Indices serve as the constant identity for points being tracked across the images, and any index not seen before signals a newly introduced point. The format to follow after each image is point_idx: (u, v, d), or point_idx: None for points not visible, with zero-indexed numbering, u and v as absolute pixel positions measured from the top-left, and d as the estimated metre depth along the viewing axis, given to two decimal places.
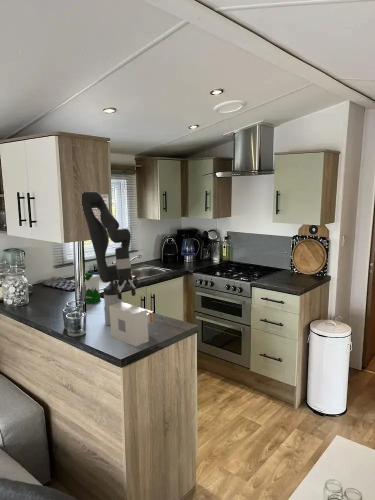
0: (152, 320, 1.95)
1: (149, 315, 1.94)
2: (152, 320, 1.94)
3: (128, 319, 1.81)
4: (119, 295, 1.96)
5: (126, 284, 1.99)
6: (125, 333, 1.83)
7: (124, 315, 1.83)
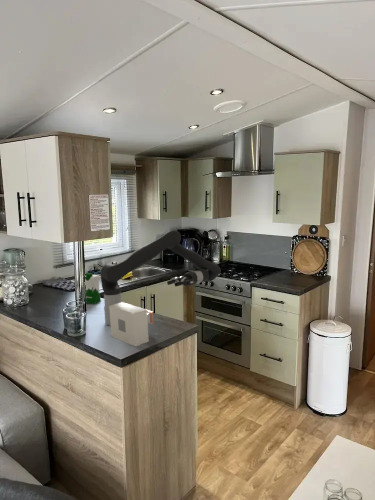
0: (152, 320, 1.95)
1: (149, 315, 1.94)
2: (152, 320, 1.94)
3: (128, 319, 1.81)
4: (179, 285, 2.05)
5: None
6: (125, 333, 1.83)
7: (124, 315, 1.83)
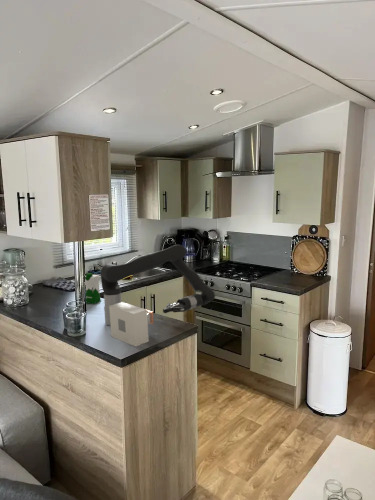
0: (152, 320, 1.95)
1: (149, 315, 1.94)
2: (152, 320, 1.94)
3: (128, 319, 1.81)
4: (168, 311, 2.05)
5: None
6: (125, 333, 1.83)
7: (124, 315, 1.83)
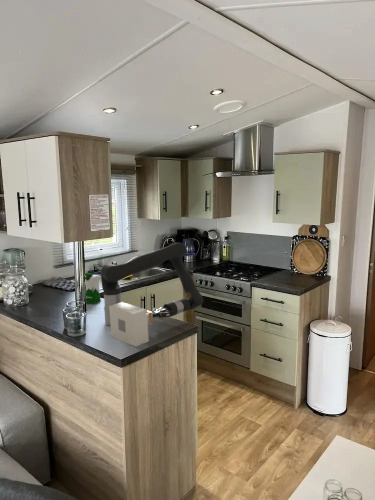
0: (151, 320, 1.94)
1: (148, 315, 1.93)
2: (151, 320, 1.94)
3: (128, 319, 1.81)
4: (153, 317, 1.98)
5: None
6: (125, 333, 1.83)
7: (124, 315, 1.83)
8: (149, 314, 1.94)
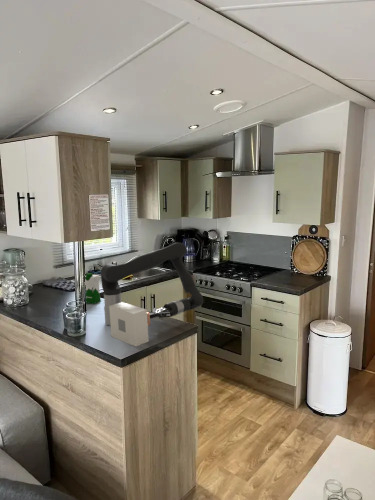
0: (149, 321, 1.93)
1: None
2: (148, 321, 1.93)
3: (128, 319, 1.81)
4: (153, 317, 1.98)
5: None
6: (125, 333, 1.83)
7: (124, 315, 1.83)
8: None
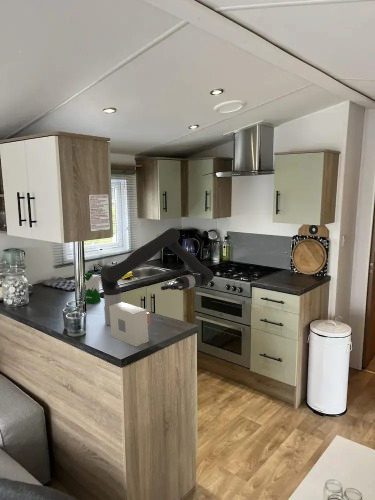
0: (149, 321, 1.93)
1: None
2: (148, 321, 1.93)
3: (128, 319, 1.81)
4: (166, 289, 2.02)
5: None
6: (125, 333, 1.83)
7: (124, 315, 1.83)
8: None
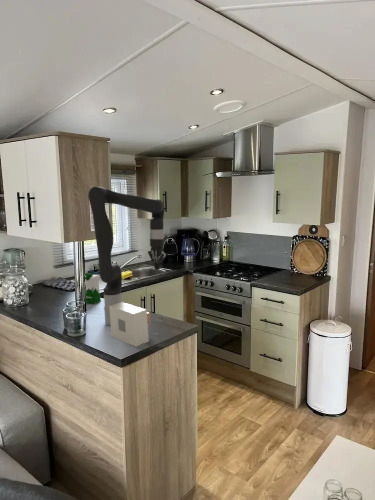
0: (149, 321, 1.93)
1: None
2: (148, 321, 1.93)
3: (128, 319, 1.81)
4: None
5: None
6: (125, 333, 1.83)
7: (124, 315, 1.83)
8: None
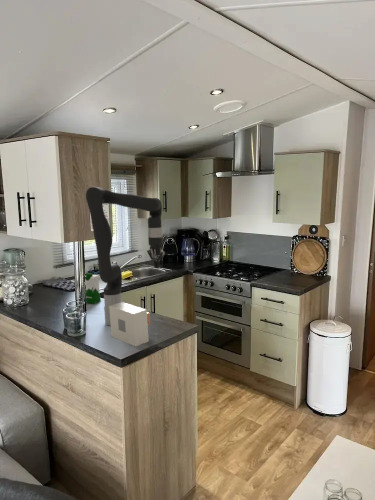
0: (149, 321, 1.93)
1: None
2: (148, 321, 1.93)
3: (128, 319, 1.81)
4: None
5: None
6: (125, 333, 1.83)
7: (124, 315, 1.83)
8: None
